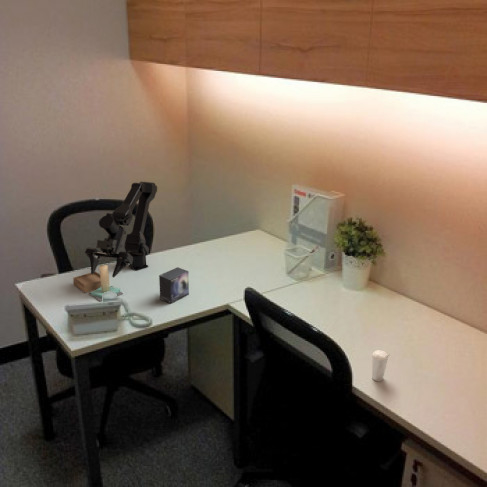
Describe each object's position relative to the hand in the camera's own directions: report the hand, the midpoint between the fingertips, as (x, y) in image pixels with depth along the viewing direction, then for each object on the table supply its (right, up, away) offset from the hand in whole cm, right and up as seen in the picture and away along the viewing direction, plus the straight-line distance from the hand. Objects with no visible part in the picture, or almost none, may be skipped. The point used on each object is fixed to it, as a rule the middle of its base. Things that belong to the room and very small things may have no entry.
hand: (102, 275), depth 211 cm
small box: (+28, -9, +2) cm, 29 cm away
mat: (0, -7, +4) cm, 9 cm away
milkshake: (+96, -29, -47) cm, 110 cm away
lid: (0, -7, +4) cm, 8 cm away
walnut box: (-8, -5, +11) cm, 15 cm away
